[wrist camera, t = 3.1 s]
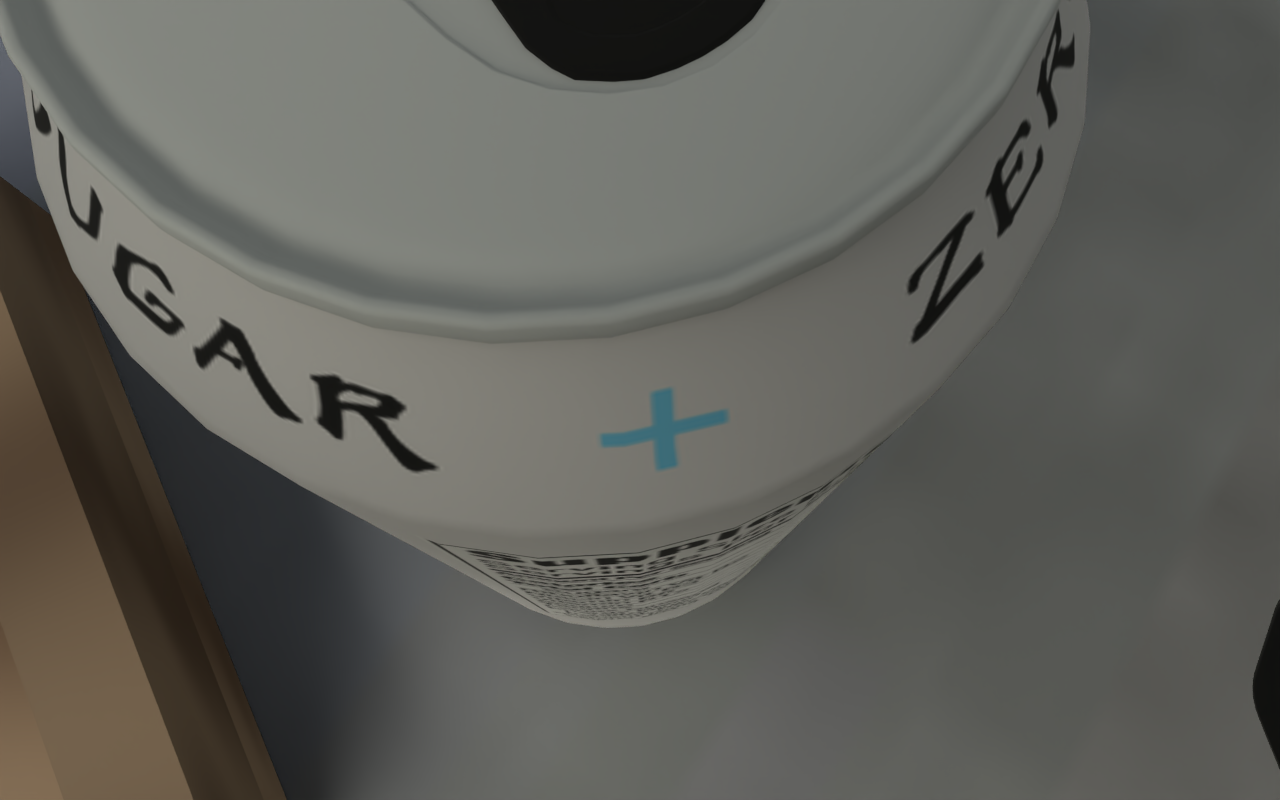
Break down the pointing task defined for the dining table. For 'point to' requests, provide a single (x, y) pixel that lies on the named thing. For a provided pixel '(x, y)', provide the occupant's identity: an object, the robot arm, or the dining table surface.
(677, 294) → the energy drink can
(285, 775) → the dining table surface
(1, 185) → the wooden tray
